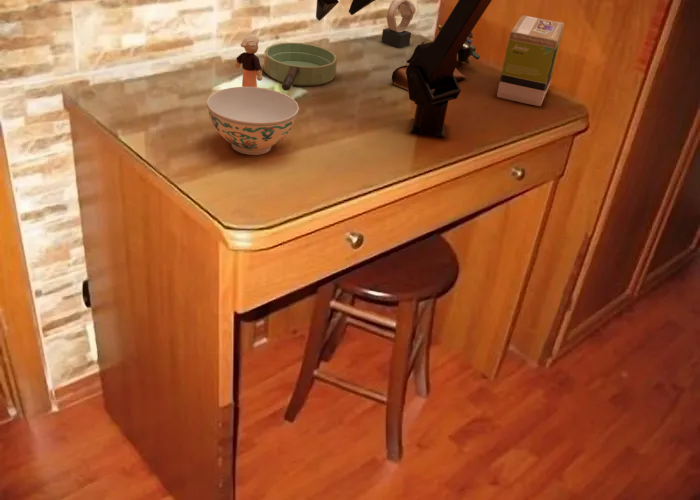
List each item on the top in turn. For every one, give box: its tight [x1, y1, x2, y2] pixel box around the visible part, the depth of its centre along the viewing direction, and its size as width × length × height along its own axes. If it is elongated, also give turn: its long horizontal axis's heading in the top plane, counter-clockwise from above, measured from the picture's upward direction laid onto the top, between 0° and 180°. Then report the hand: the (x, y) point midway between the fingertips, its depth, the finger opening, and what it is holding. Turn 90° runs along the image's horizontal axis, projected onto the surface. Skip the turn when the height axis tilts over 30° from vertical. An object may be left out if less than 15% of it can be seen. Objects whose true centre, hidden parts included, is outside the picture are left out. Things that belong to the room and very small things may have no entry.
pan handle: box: [281, 66, 299, 92], centre depth 144 cm, size 11×2×2 cm, turn 174°
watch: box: [381, 0, 417, 49], centre depth 179 cm, size 6×8×11 cm
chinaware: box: [206, 86, 300, 156], centre depth 123 cm, size 15×15×8 cm
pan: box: [263, 42, 338, 87], centre depth 155 cm, size 15×15×4 cm
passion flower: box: [420, 24, 481, 65], centre depth 170 cm, size 11×11×12 cm
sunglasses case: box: [391, 64, 467, 92], centre depth 161 cm, size 18×7×7 cm, turn 139°
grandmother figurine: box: [234, 34, 263, 87], centre depth 138 cm, size 8×4×13 cm, turn 56°
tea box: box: [496, 14, 565, 107], centre depth 159 cm, size 15×10×15 cm, turn 160°
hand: (334, 16), depth 146 cm, fingers open, 9 cm apart
